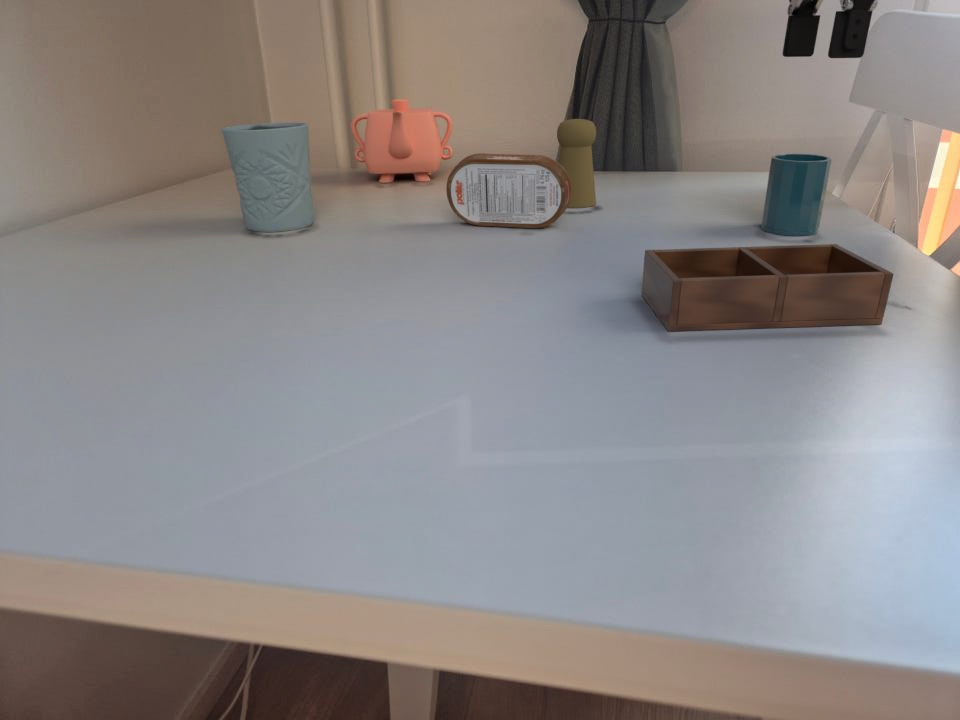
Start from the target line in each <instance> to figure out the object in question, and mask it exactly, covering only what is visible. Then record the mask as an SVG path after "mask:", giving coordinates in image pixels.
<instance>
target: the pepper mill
mask: <svg viewBox="0 0 960 720" xmlns="http://www.w3.org/2000/svg"><path fill="white" fill-rule="evenodd" d="M556 138H557V142H558V143H559V145H560V149H559V156H558V163H559V164H560V165H561V166H562V167H563V168H564V169H565V171H566V172H567V174H568V176H569V179H570V182H571V199H570V202H569V205H568V207H567V208H566V209H568V208H569V209H582V208H583V209H584V208H590V207H593V206H596V204H597V196H596V185H595V172H594V162H593V160H594V159H593V151H592V149H593V147H592V145H593V144H594V142H595V141H596V138H597V127H596V124H595V123H594V122H593V121H591V120H589V119H582V118H571V119H567V120H563V121H561V122H560V123H559V125H558V126H557V130H556Z"/></svg>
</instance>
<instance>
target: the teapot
mask: <svg viewBox="0 0 960 720" xmlns="http://www.w3.org/2000/svg"><path fill="white" fill-rule="evenodd" d="M409 101H410V100H409V99H407V98H397V99H392V100H391V105H392V107H393V108H391V109H390V108H388V109H373V110H371V111H368V113H360V114H358V115H356V116H355V117H354V118H352V121H351V123H350V130H351V131H350V132H351V135H352V136H353V138H354V140H355V142H356V143H357V145H358V146H359V148H356V149H355V150H354V154H353V155H354V158H355V160H356V161H357V162H359V163H364V164H365V166H366V169H367V172H368V173H369V174H377V175H380V177H379V179H378V183H382V184H385V183H388V184H389V183H393V182H394V181H395V177H396V176H397V174H413V176H414V180H415V182H429V181H431V179H430V175H432V172H433V173H434V172H437V171H439V169H440V166H441V162H442V160H443V161H445V160H450V159H451V158H452V157H453V154H454V150H453V147H452V146H451V145H448V142H449V139H450V137H451V134H452V133H453V132H452V131H453V129H454V128H453V126H454V125H453V120H452V118H451V116H449V114H447V113H445V112H444V111H440V110H436V111H434V110H433V108H430V107H426V108H425V107H422V108H419V107H417V108H410V102H409ZM436 118H442V119H444V120H445V121H446V131H445V133H444V135H443V137H442V139H441V136H440V130H439V126H438V123H437V119H436ZM362 120H366V122H365V123H366V124H365V130H364V138H363V139H364V141H363V140H362V138H361V136H360V134H359V132H358V128H357V124H358V122H360V121H362ZM445 150H448V153H447V154H446V153H445ZM360 153H362V154H363V156H360Z"/></svg>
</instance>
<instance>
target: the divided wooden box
mask: <svg viewBox="0 0 960 720" xmlns="http://www.w3.org/2000/svg"><path fill="white" fill-rule="evenodd" d="M893 278H894V273H893V272H891V271H890V270H887V269H885V268H884V267H882V266H880V265H877V264H876V263H874V262H872V261H870V260H868V259H866V258H864V257H862V256H860V255H858V254H856V253H855V252H853V251H850V250H849V249H846V248H845V247H843V246H840V245H839V244H837V243H830V244H829V243H828V244H827V243H826V244H795V245H794V244H793V245H792V244H791V245H766V246H764V245H763V246H761V245H759V246H729V247H700V248H696V247H695V248H671V249H670V248H669V249H668V248H667V249H645V250H644V257H643V271H642V284H641V294H640V295H641V296H642V298H643V300H644V301H645V302H646V303H647V305H648V306H649V307H650V309H651V310H652V311H653V312H654V314H655V316H656V317H657V318H658V319H659V321H660V323H662V325H663V326H664V327H665V329H666V330H667V332H687V331H692V332H693V331H717V330H718V331H719V330H722V331H723V330H749V329H779V328H780V329H781V328H810V327H811V328H812V327H836V326H837V327H838V326H840V327H841V326H867V325H868V326H871V325H873V326H874V325H882V324H883V320H884V317H885V312H886V307H887V304H888V300H889V295H890V291H891V287H892V283H893Z"/></svg>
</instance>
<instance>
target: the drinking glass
mask: <svg viewBox="0 0 960 720" xmlns="http://www.w3.org/2000/svg"><path fill="white" fill-rule="evenodd" d="M221 133H222V136H223V140H224V143H225V147H226V150H227V154H228V159H229V162H230V167H231V170H232V172H233V174H234V180H235V185H236V189H237V193H238V196H239V206H240V210H241V213H242V218H243V221H244V226H245V229H247V230H249V231H253V232H259V233H278V232H290V231H294V230H300V229H303V228H306V227H309V226H311V225H313V224H314V221H315V210H314V198H313V194H312V178H311V170H310V169H311V168H310V165H311V164H310V162H311V157H310V137H309V124H308V123H306V122H268V123H251V124H249V123H248V124H238V125H232V126H226V127H223V128H222V129H221Z"/></svg>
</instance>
